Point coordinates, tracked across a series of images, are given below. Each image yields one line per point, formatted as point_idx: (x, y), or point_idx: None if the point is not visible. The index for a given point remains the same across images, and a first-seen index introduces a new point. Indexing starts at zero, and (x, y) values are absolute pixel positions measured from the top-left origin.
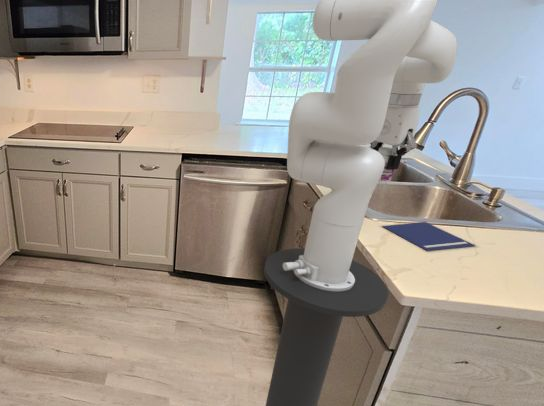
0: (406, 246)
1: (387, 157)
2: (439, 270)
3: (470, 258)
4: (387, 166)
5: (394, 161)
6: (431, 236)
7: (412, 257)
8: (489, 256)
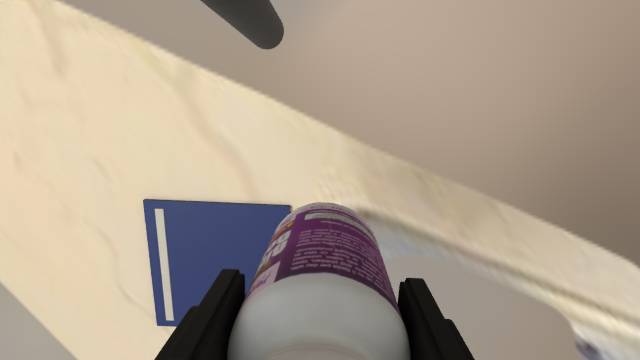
0: (174, 170)
1: (254, 351)
2: (53, 142)
3: (105, 263)
4: (225, 280)
5: (173, 336)
6: (210, 274)
7: (116, 133)
8: (112, 309)
